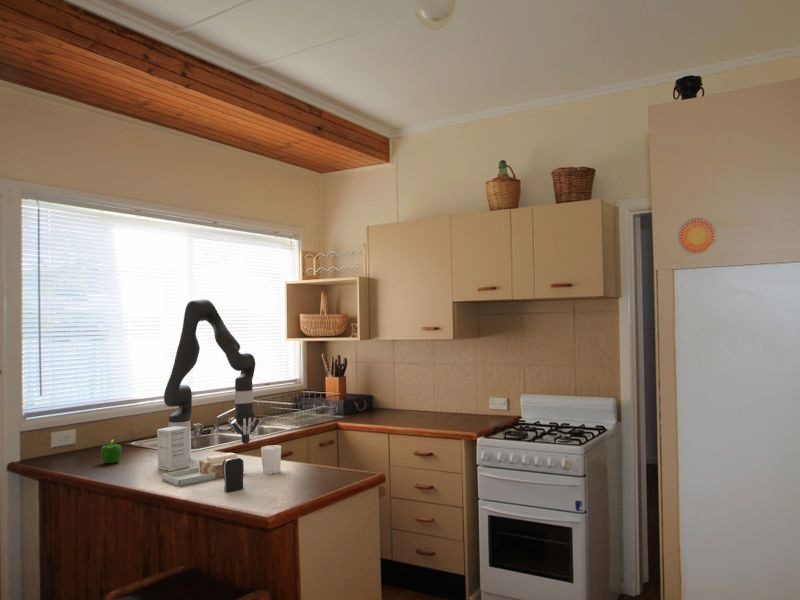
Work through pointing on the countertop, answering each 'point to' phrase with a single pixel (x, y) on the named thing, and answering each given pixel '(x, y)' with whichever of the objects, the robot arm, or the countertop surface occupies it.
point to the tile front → (215, 459)
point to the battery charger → (233, 474)
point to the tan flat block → (212, 468)
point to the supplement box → (173, 448)
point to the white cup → (271, 459)
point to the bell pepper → (111, 452)
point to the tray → (187, 477)
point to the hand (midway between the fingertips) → (245, 443)
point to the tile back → (229, 455)
